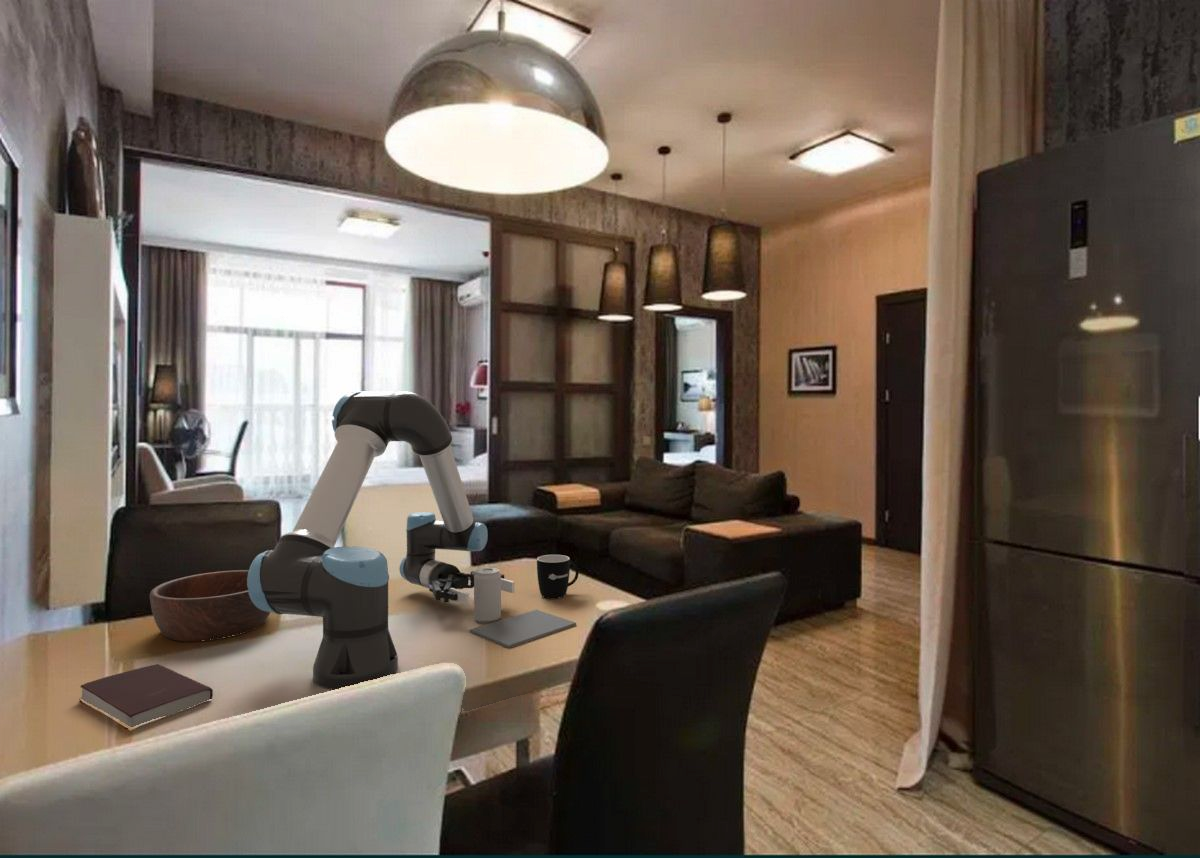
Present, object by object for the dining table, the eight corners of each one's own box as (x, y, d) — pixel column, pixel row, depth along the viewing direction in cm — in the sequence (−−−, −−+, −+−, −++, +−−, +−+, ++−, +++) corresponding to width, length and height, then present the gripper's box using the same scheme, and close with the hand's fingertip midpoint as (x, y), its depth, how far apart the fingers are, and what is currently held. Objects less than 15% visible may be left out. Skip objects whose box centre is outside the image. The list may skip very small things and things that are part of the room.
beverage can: (502, 615, 156) (502, 566, 155) (499, 624, 149) (499, 573, 149) (476, 615, 155) (476, 566, 155) (471, 624, 149) (471, 573, 149)
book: (160, 677, 120) (159, 660, 120) (213, 703, 110) (213, 684, 109) (78, 703, 109) (78, 685, 109) (129, 734, 99) (128, 713, 99)
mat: (508, 648, 134) (508, 645, 134) (469, 632, 144) (469, 629, 144) (575, 625, 149) (575, 622, 149) (536, 611, 158) (536, 609, 158)
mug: (544, 602, 167) (544, 563, 166) (531, 593, 174) (531, 556, 174) (585, 595, 172) (585, 558, 172) (571, 587, 180) (571, 552, 180)
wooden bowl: (207, 654, 130) (207, 604, 130) (122, 639, 138) (121, 592, 138) (301, 616, 154) (301, 574, 154) (223, 606, 162) (223, 566, 162)
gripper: (480, 582, 176) (530, 597, 161) (397, 601, 157) (446, 621, 143) (480, 555, 175) (530, 568, 161) (397, 571, 157) (446, 588, 143)
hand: (491, 593), depth 152 cm, fingers open, 13 cm apart
